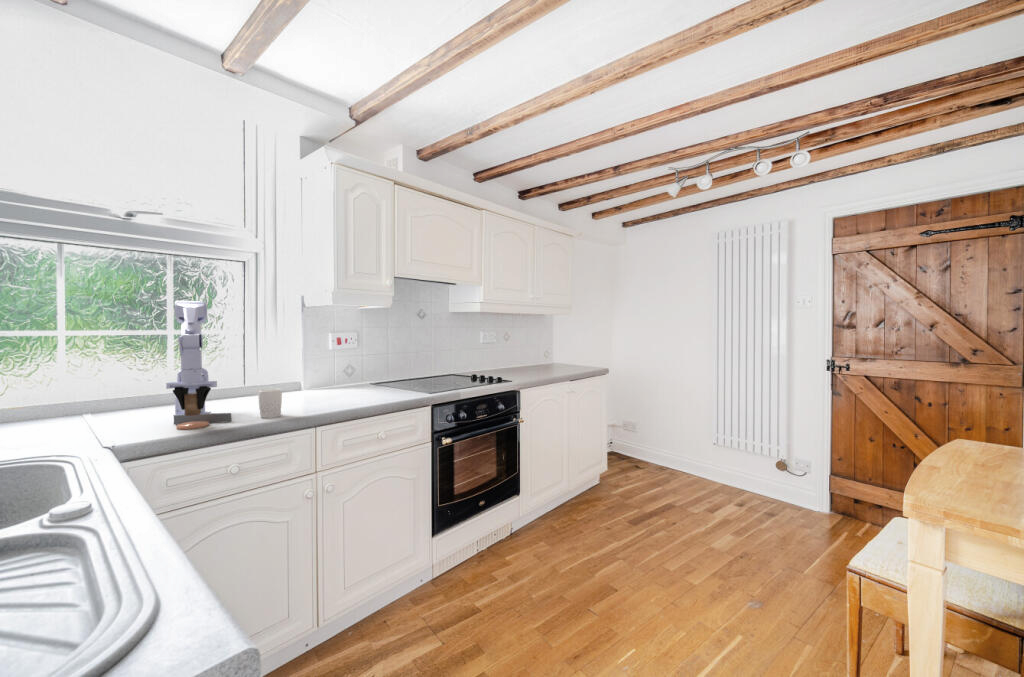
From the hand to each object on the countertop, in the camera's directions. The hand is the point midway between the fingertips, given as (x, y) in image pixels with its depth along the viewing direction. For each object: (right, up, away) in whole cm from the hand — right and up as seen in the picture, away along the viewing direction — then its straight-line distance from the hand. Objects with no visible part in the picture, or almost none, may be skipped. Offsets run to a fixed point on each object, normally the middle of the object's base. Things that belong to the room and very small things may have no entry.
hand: (192, 409), depth 148 cm
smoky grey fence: (-1, -6, +7) cm, 9 cm away
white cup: (+17, -6, +17) cm, 25 cm away
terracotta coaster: (0, -6, 0) cm, 6 cm away
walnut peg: (0, -2, 0) cm, 2 cm away
